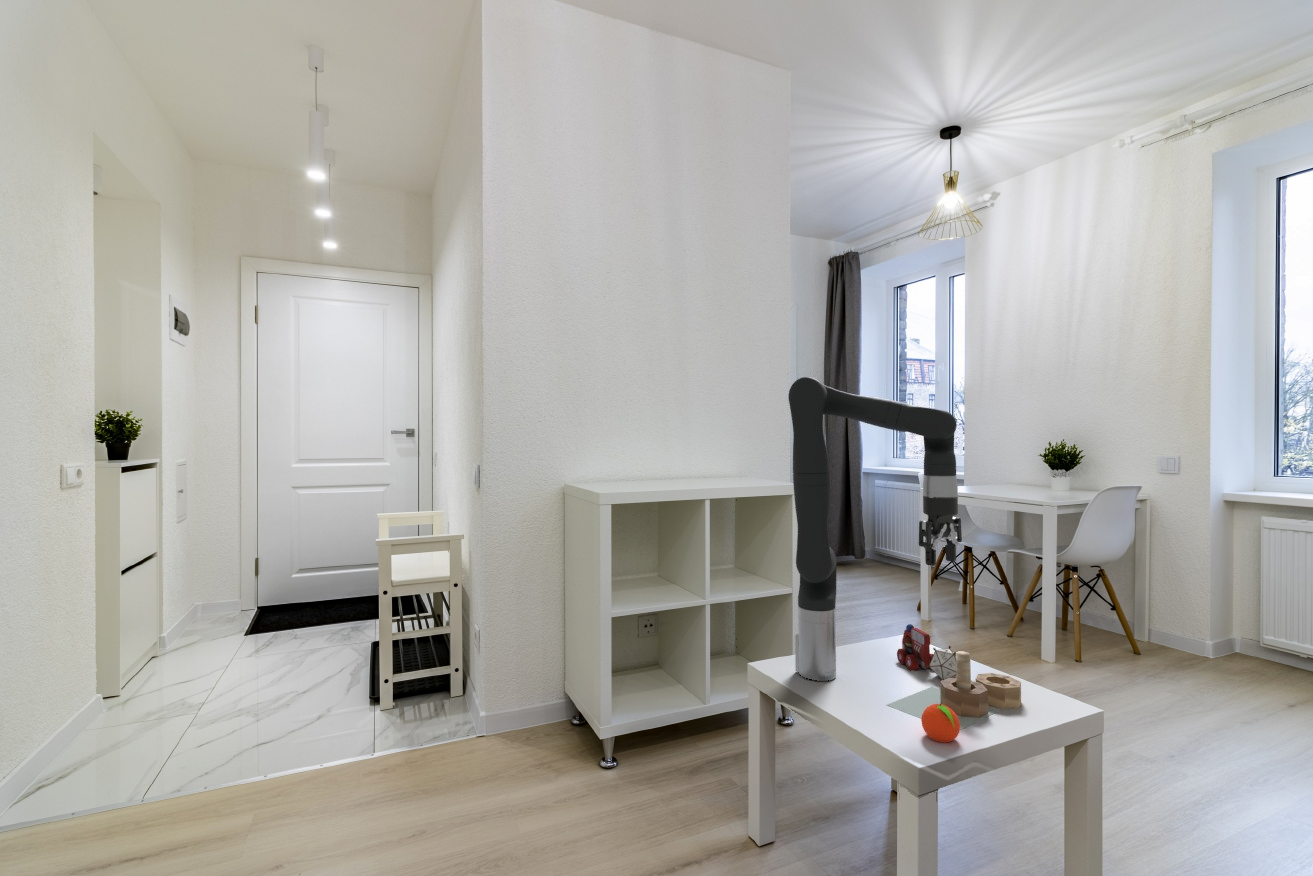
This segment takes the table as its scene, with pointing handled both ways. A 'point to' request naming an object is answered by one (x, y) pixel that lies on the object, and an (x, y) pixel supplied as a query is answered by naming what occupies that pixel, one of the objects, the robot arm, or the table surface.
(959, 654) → the birch peg
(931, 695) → the grey mat
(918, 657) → the red toy car
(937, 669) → the game die
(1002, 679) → the oak bead
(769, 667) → the table surface
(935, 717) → the clementine
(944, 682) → the walnut bead
